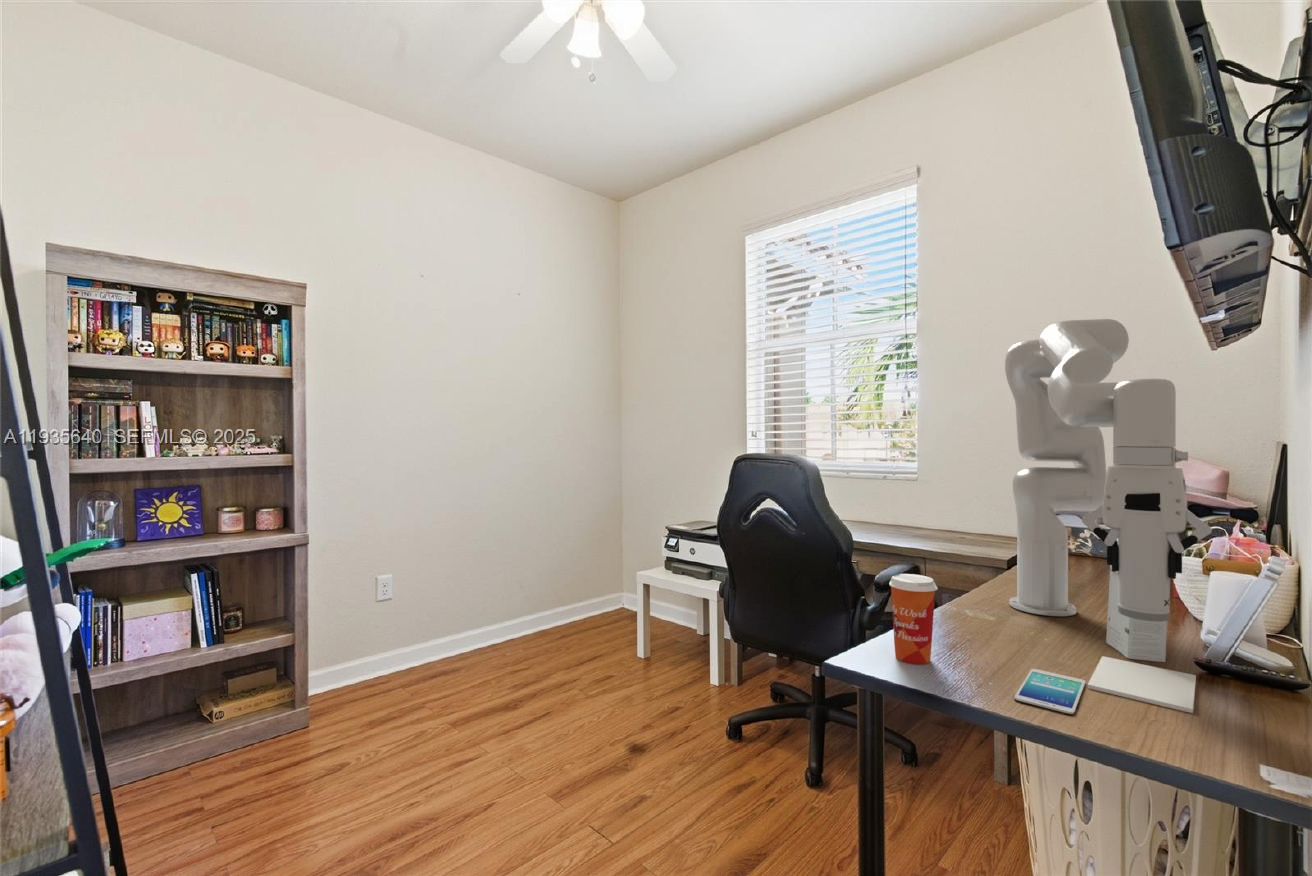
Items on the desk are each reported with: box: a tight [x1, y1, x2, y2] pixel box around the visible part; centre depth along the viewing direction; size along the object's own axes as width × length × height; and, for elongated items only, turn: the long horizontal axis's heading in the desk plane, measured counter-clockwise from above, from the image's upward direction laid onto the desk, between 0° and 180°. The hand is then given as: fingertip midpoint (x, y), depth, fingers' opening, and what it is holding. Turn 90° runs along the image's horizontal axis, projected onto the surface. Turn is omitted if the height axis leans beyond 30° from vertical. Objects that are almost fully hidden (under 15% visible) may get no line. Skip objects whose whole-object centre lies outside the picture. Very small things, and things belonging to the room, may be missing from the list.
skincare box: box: [1105, 565, 1168, 663], centre depth 106 cm, size 8×6×15 cm
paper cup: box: [888, 573, 938, 666], centre depth 103 cm, size 8×8×14 cm
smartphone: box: [1013, 668, 1086, 717], centre depth 90 cm, size 8×1×15 cm
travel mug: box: [1117, 493, 1171, 622], centre depth 93 cm, size 6×7×20 cm
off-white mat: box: [1087, 655, 1197, 714], centre depth 93 cm, size 16×12×1 cm
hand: (1143, 572), depth 93 cm, fingers closed on travel mug, 6 cm apart
